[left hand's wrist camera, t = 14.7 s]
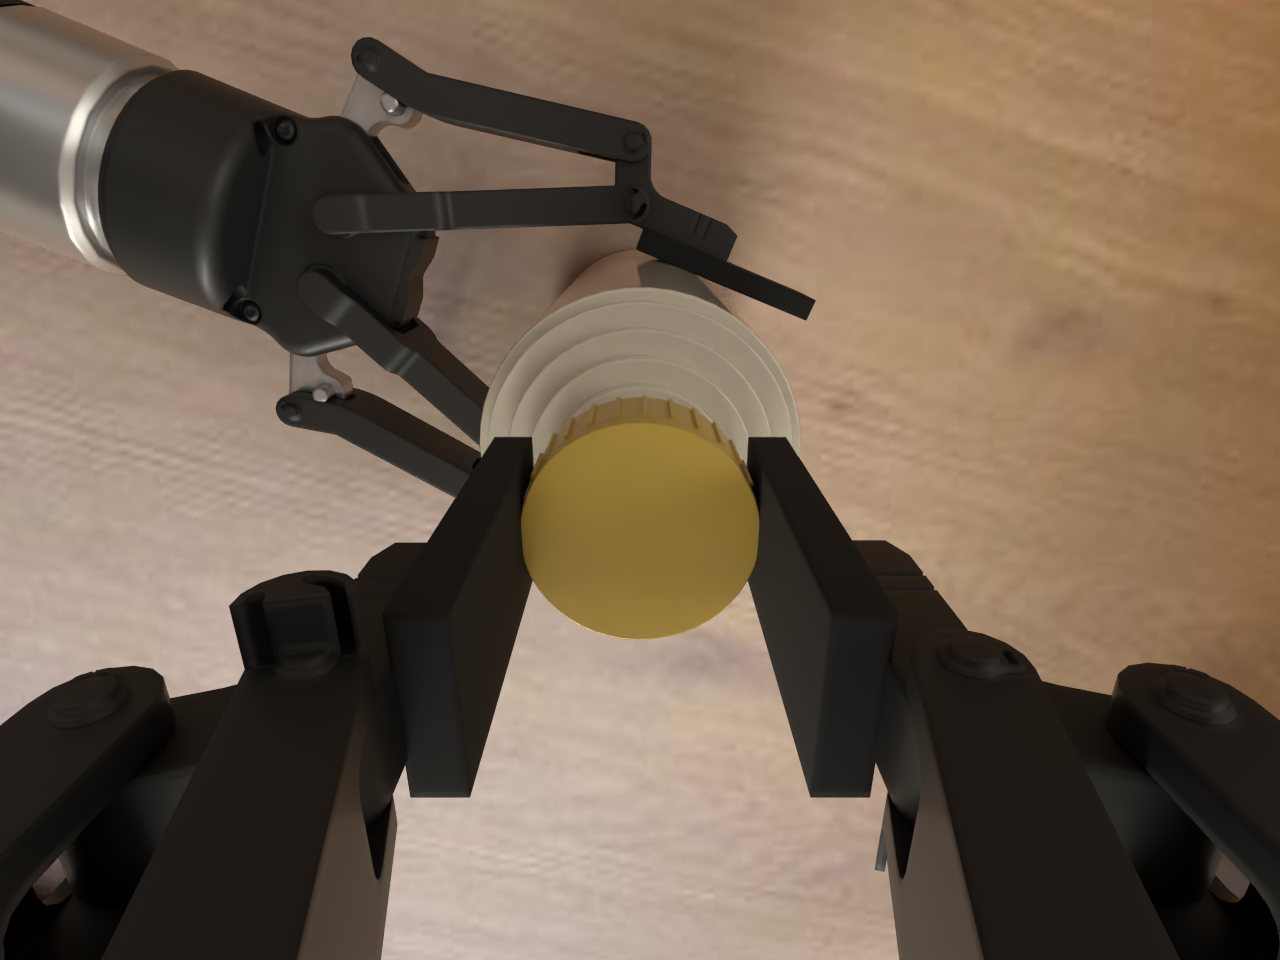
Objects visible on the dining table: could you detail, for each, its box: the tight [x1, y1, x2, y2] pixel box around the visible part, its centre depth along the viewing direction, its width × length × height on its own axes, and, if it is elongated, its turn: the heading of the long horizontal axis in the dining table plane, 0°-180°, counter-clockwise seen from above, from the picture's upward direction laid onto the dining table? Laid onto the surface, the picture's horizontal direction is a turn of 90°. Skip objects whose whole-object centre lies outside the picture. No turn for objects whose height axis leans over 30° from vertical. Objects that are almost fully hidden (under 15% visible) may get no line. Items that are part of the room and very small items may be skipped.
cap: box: [521, 395, 760, 640], centre depth 13 cm, size 4×4×2 cm
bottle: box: [480, 249, 801, 467], centre depth 23 cm, size 8×8×21 cm
